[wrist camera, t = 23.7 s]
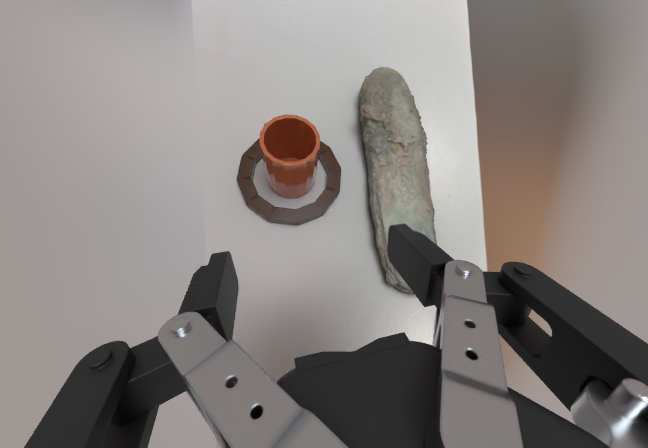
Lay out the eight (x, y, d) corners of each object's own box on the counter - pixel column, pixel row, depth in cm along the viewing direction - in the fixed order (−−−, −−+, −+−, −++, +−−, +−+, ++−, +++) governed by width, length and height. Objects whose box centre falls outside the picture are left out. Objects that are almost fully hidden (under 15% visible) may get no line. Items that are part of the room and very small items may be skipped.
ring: (261, 240, 32) (260, 237, 31) (226, 153, 35) (224, 148, 34) (355, 202, 35) (357, 198, 34) (315, 125, 38) (315, 120, 37)
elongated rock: (365, 295, 32) (435, 292, 34) (381, 296, 27) (462, 292, 29) (349, 75, 41) (405, 81, 43) (358, 46, 36) (421, 54, 38)
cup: (278, 204, 34) (272, 173, 26) (261, 165, 35) (250, 124, 27) (322, 188, 35) (329, 154, 27) (303, 151, 37) (305, 108, 29)
